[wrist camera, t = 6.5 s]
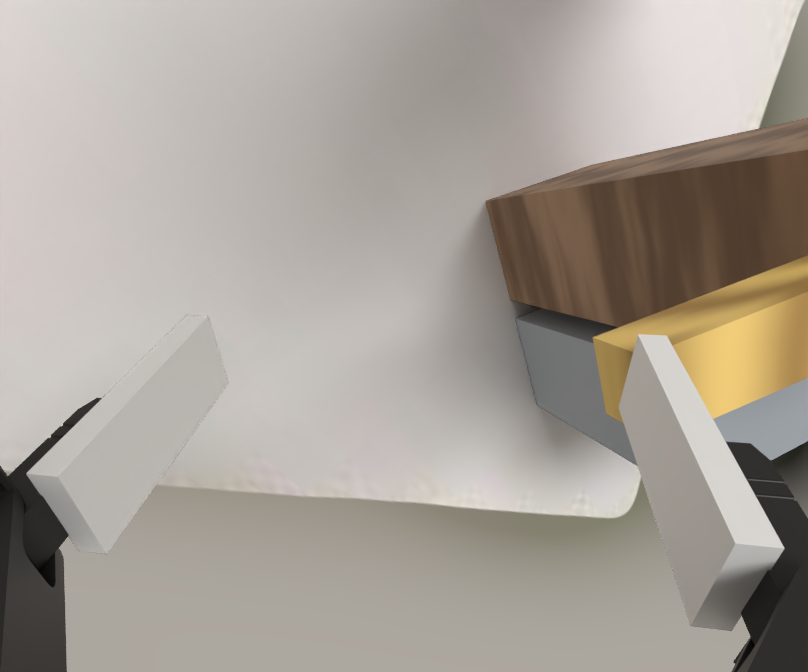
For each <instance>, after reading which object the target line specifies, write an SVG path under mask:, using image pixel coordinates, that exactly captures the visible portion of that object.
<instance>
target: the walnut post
mask: <svg viewBox="0 0 808 672" xmlns="http://www.w3.org/2000/svg"><path fill="white" fill-rule="evenodd" d="M486 204H487V208H488V212H489V216H490V220H491V224H492V228H493V232H494V236H495V240H496V244H497V248H498V252H499V255H500V259H501V263H502V267H503V271H504V275H505V279H506V283H507V287H508V291H509V295H510V299H511V300H512V301H516V302H520V303H524V304H528V305H532V306H536V307H540V308H544V309H548V310H552V311H556V312H560V313H564V314H568V315H572V316H576V317H580V318H584V319H588V320H592V321H596V322H600V323H604V324H608V325H612V326H616V327H621V326H624V325H627V324H629V323H632V322H634V321H637V320H640V319H642V318H645V317H648V316H650V315H653V314H655V313H658V312H661V311H663V310H666V309H669V308H671V307H674V306H676V305H679V304H682V303H684V302H687V301H690V300H692V299H695V298H697V297H700V296H703V295H705V294H708V293H711V292H713V291H716V290H718V289H721V288H724V287H726V286H729V285H732V284H734V283H737V282H739V281H742V280H745V279H747V278H750V277H752V276H755V275H758V274H760V273H763V272H766V271H768V270H771V269H773V268H776V267H779V266H781V265H784V264H787V263H789V262H792V261H794V260H797V259H800V258H802V257H805V256H808V118H806V119H801V120H797V121H792V122H787V123H784V124H779V125H774V126H769V127H764V128H760V129H755V130H751V131H746V132H741V133H737V134H732V135H728V136H723V137H718V138H714V139H709V140H704V141H700V142H695V143H691V144H686V145H681V146H677V147H672V148H668V149H663V150H658V151H654V152H649V153H645V154H640V155H635V156H631V157H626V158H621V159H617V160H612V161H608V162H603V163H598V164H594V165H590V166H587V167H584V168H581V169H578V170H576V171H573V172H570V173H567V174H564V175H561V176H558V177H555V178H552V179H549V180H546V181H543V182H540V183H537V184H534V185H531V186H528V187H525V188H523V189H520V190H517V191H514V192H511V193H508V194H505V195H502V196H499V197H496V198H493V199H490V200H487V201H486Z"/></svg>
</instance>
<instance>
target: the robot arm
mask: <svg viewBox="0 0 808 672" xmlns="http://www.w3.org/2000/svg"><path fill="white" fill-rule="evenodd" d="M228 383H229V382H228V379H227V376H226V372H225V369H224V366H223V362H222V359H221V356H220V352H219V349H218V346H217V343H216V339H215V336H214V333H213V329H212V326H211V323H210V319H209V316H200V315H186V316H185V317H184V318H183V319H182V320H181V321H180V322H179V323H178V324H177V325H176V326H175V327H174V328H173V329H172V330H171V331H170V332H169V333H168V334H167V335H166V336H165V337H164V338H163V339H162V340H161V341H160V342H159V343H158V344H157V345H156V346H155V347H154V348H153V349H152V350H151V351H150V352H149V353H148V354H147V355H145V356H144V357H143V358H142V359H141V360H140V361H139V362H138V363H137V364H136V365H135V366H134V367H133V368H132V369H131V370H130V371H129V372H128V373H127V374H126V375H125V376H124V377H123V378H122V379H121V380H120V381H119V382H118V383H117V384H116V385H115V386H114V387H113V388H112V389H111V390H110V391H109V392H108V393H107V394H106V395H105V396H104V397H103V398H96V399H94V400H93V401H91V402H90V403H88V404H86V405H85V406H83V407H81V408H80V409H78V410H77V411H76V412H75V413H74V414H73V415H72V416H71V417H70V418H68V419H67V420H66V421H65V422H64V423H63V426H62V427H61V426H60V427H59V428H58V429H57V430H56V431H55V432H54V433H53V434H52V435H51V438H48V439H47V440H45V441H44V442H43V443H42V444H41V445H40V446H39V447H38V448H37V449H36V450H35V451H34V452H33V453H32V454H31V455H30V456H29V457H28V458H27V459H26V460H25V461H24V462H22V463H21V464H20V465H19V466H18V467H17V468H16V469H15V470H14V471H13V472H12V473H11V474H10V475H9V476H7V475H6V473H5V472H4V471H3V469H2V468H1V466H0V672H67V670H66V669H67V667H66V633H65V595H64V561H63V560H64V559H63V556H62V553H61V551H60V549H59V547H60V546H61V544H62V543H63V542H64V541H65V539H66V538H67V537H68V536H69V538H70V539H71V541H72V542H73V544H74V545H75V547H76V548H77V550H78V551H83V552H91V553H99V554H107V553H108V552H109V551H110V549H111V548H112V546H113V545H114V543H115V542H116V541H117V539H118V538H119V536H120V535H121V534H122V532H123V531H124V529H125V528H126V527H127V525H128V524H129V522H130V521H131V520H132V518H133V517H134V515H135V514H136V513H137V511H138V510H139V508H140V507H141V506H142V504H143V503H144V501H145V500H146V498H147V497H148V496H149V494H150V493H151V491H152V490H153V488H154V487H155V486H156V484H157V483H158V482H159V480H160V479H161V477H162V476H163V475H164V473H165V472H166V470H167V469H168V468H169V466H170V465H171V463H172V462H173V461H174V459H175V458H176V456H177V455H178V453H179V452H180V451H181V449H182V448H183V446H184V445H185V444H186V442H187V441H188V439H189V438H190V437H191V435H192V434H193V432H194V431H195V430H196V428H197V427H198V425H199V424H200V423H201V421H202V420H203V418H204V417H205V415H206V414H207V413H208V411H209V410H210V408H211V407H212V406H213V404H214V403H215V401H216V400H217V399H218V397H219V396H220V394H221V393H222V392H223V390H224V389H225V387H226V386H227V385H228ZM619 411H620V414H621V417H622V420H623V423H624V426H625V429H626V432H627V435H628V438H629V441H630V444H631V447H632V450H633V453H634V456H635V459H636V462H637V465H638V468H639V471H640V474H641V477H642V480H643V483H644V486H645V490H646V493H647V495H648V499H649V502H650V504H651V508H652V511H653V513H654V517H655V520H656V523H657V526H658V529H659V532H660V535H661V538H662V541H663V544H664V547H665V550H666V553H667V556H668V559H669V562H670V565H671V568H672V571H673V574H674V577H675V580H676V584H677V586H678V589H679V593H680V596H681V599H682V602H683V605H684V608H685V611H686V614H687V617H688V620H689V623H690V626H695V627H703V628H711V629H719V630H728V631H732V630H733V628H734V626H735V625H736V623H737V622H738V620H739V619H740V617H741V616H742V617H743V619H744V622H745V624H746V627H747V629H748V631H749V633H750V636H751V637H750V639H749V640H748V641H747V643H746V644H745V646H744V647H743V649H742V650H741V652H740V653H739V655H738V656H737V657H736V659H735V660H734V663H735V666H734V668H733V671H732V672H808V518H807V517H806V515H805V514H804V512H803V510H802V509H801V507H800V506H799V504H798V502H797V501H794V496H793V494H792V493H791V491H790V490H789V488H788V487H787V485H786V484H784V483H783V481H784V480H783V479H782V477H781V476H780V474H779V472H778V471H777V469H776V468H775V466H774V465H773V463H772V461H771V460H770V459H768V458H767V457H766V456H765V455H764V454H763V453H761V452H760V451H759V450H758V449H757V448H756V447H754V446H753V445H752V444H751V443H740V442H726V441H725V440H724V438H723V436H722V434H721V433H720V431H719V429H718V427H717V425H716V424H715V422H714V420H713V418H712V416H711V415H710V413H709V411H708V409H707V407H706V406H705V404H704V402H703V400H702V398H701V397H700V395H699V393H698V391H697V389H696V388H695V386H694V384H693V382H692V380H691V379H690V377H689V375H688V373H687V371H686V370H685V368H684V366H683V364H682V362H681V361H680V359H679V357H678V355H677V353H676V351H675V350H674V348H673V346H672V344H671V342H670V341H669V339H668V337H667V336H666V335H643V334H638V336H637V340H636V344H635V347H634V351H633V355H632V359H631V362H630V366H629V370H628V374H627V378H626V381H625V385H624V389H623V393H622V397H621V400H620V404H619Z"/></svg>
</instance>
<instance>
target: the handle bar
mask: <svg viewBox="0 0 808 672" xmlns="http://www.w3.org/2000/svg"><path fill="white" fill-rule="evenodd" d="M638 334H643V335H666V336H667V337H668V339H669V341H670V342H671V344H672V346H673V348H674V350H675V351H676V353H677V355H678V357H679V359H680V361H681V362H682V364H683V366H684V368H685V370H686V371H687V373H688V375H689V377H690V379H691V380H692V382H693V384H694V386H695V388H696V389H697V391H698V393H699V395H700V397H701V398H702V400H703V402H704V404H705V406H706V407H707V409H708V411H709V413H710V415H711V416H712V418H713V419H714V418H716V417H719V416H721V415H723V414H726V413H728V412H730V411H732V410H735V409H737V408H739V407H742V406H744V405H746V404H749V403H751V402H753V401H756V400H758V399H760V398H762V397H765V396H767V395H769V394H772V393H774V392H776V391H779V390H781V389H783V388H786V387H788V386H790V385H792V384H795V383H797V382H799V381H802V380H804V379H806V378H808V256H805V257H802V258H800V259H797V260H794V261H792V262H789V263H787V264H784V265H781V266H779V267H776V268H773V269H771V270H768V271H766V272H763V273H760V274H758V275H755V276H752V277H750V278H747V279H745V280H742V281H739V282H737V283H734V284H732V285H729V286H726V287H724V288H721V289H718V290H716V291H713V292H711V293H708V294H705V295H703V296H700V297H697V298H695V299H692V300H690V301H687V302H684V303H682V304H679V305H676V306H674V307H671V308H669V309H666V310H663V311H661V312H658V313H655V314H653V315H650V316H648V317H645V318H642V319H640V320H637V321H634V322H632V323H629V324H627V325H624V326H621V327H619V328H616V329H613V330H611V331H608V332H606V333H603V334H600V335H598V336H595V337H593V342H594V348H595V353H596V359H597V364H598V370H599V376H600V381H601V387H602V393H603V398H604V404H605V410H606V414H608V415H610V416H611V417H613V418H615V419H617V420H618V421H620V422H622V423H623V420H622V417H621V414H620V411H619V404H620V400H621V397H622V393H623V389H624V385H625V381H626V378H627V374H628V370H629V366H630V362H631V359H632V355H633V351H634V347H635V344H636V340H637V336H638ZM623 424H624V423H623Z"/></svg>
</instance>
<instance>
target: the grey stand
mask: <svg viewBox="0 0 808 672" xmlns="http://www.w3.org/2000/svg"><path fill="white" fill-rule="evenodd" d="M516 323H517V327H518V331H519V335H520V339H521V343H522V347H523V351H524V355H525V359H526V363H527V367H528V371H529V375H530V379H531V383H532V387H533V391H534V395H535V399H536V403H537V406H539V407H541V408H542V409H544V410H546V411H547V412H549V413H551V414H552V415H554V416H556V417H557V418H559V419H561V420H562V421H564V422H566V423H567V424H569V425H571V426H572V427H574V428H575V429H577V430H579V431H580V432H582V433H584V434H585V435H587V436H589V437H590V438H592V439H594V440H595V441H597V442H599V443H600V444H602V445H604V446H605V447H607V448H609V449H610V450H612V451H614V452H615V453H617V454H618V455H620V456H622V457H623V458H625V459H627V460H628V461H630V462H632V463H633V464H635V465H637V462H636V459H635V456H634V453H633V450H632V447H631V444H630V441H629V438H628V435H627V432H626V429H625V426H624V424H623V423H622V422H620V421H618V420H617V419H615V418H613V417H611V416H610V415H608V414H606V410H605V404H604V398H603V393H602V387H601V381H600V376H599V370H598V364H597V359H596V353H595V348H594V342H593V337H595V336H598V335H600V334H603V333H606V332H608V331H611V330H613V329H616V328H619V327H616V326H612V325H608V324H604V323H600V322H596V321H592V320H588V319H584V318H580V317H576V316H572V315H568V314H564V313H560V312H556V311H552V310H548V309H544V308H541V309H538V310H536V311H533V312H531V313H528V314H526V315H523V316H521V317H518V318H516ZM713 420H714V422H715V424H716V425H717V427H718V429H719V431H720V433H721V434H722V436H723V438H724V440H725V441H726V442H740V443H751V444H752V445H753V446H754V447H756V448H757V449H758V450H759V451H760V452H761V453H763V454H764V455H765V456H766V457H767V458H768V459H770V460H773V459H774V458H776V457H778V456H780V455H782V454H784V453H786V452H788V451H790V450H791V449H793V448H795V447H797V446H799V445H801V444H803V443H804V442H806V441H808V378H806V379H804V380H802V381H799V382H797V383H795V384H792V385H790V386H788V387H786V388H783V389H781V390H779V391H776V392H774V393H772V394H769V395H767V396H765V397H762V398H760V399H758V400H756V401H753V402H751V403H749V404H746V405H744V406H742V407H739V408H737V409H735V410H732V411H730V412H728V413H726V414H723V415H721V416H719V417H716V418H714V419H713ZM637 466H638V465H637Z"/></svg>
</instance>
